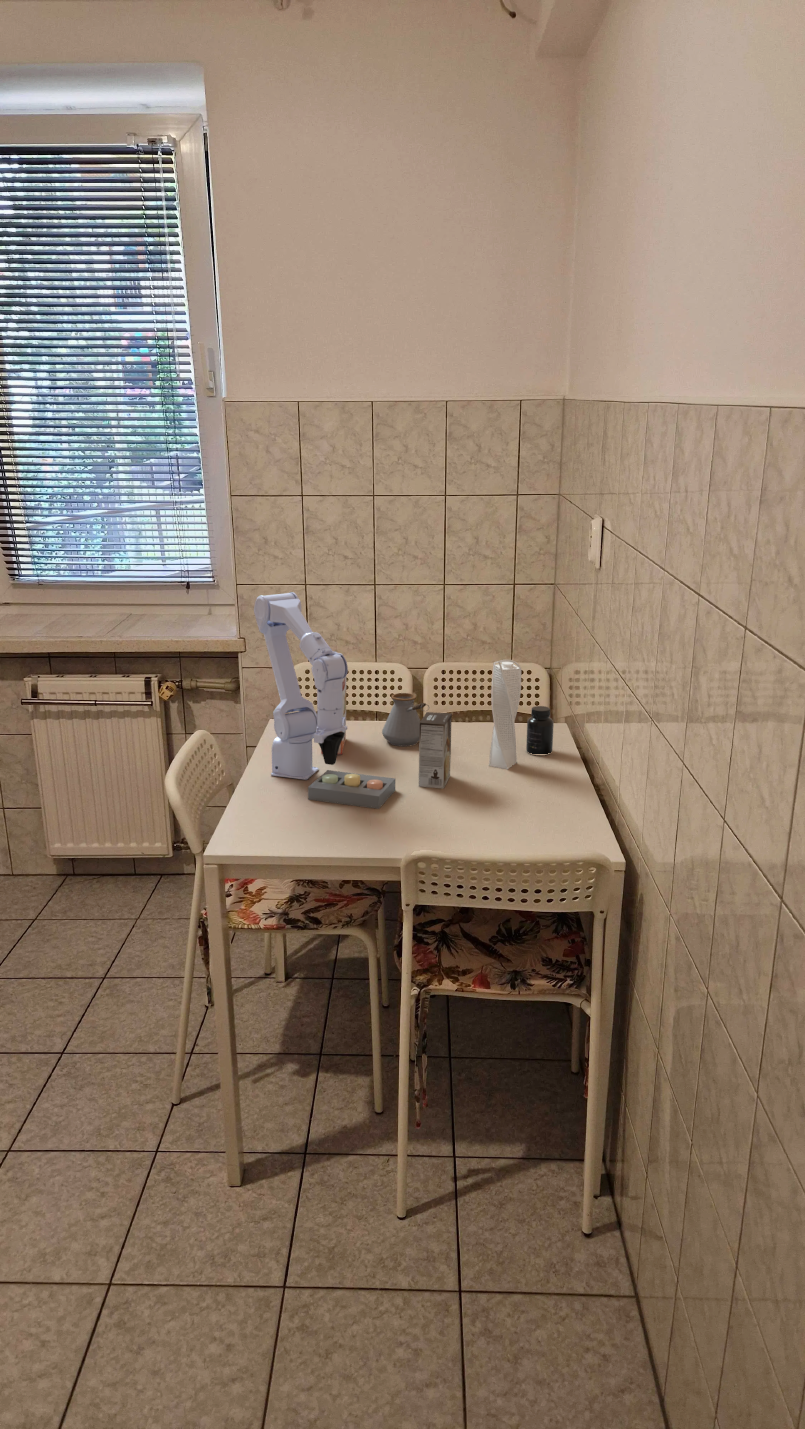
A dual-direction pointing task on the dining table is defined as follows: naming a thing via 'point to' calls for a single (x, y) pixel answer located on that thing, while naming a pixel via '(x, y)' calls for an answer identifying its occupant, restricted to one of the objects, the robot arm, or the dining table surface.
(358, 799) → the button panel
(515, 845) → the dining table surface
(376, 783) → the button terracotta
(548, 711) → the supplement bottle
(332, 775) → the button sage
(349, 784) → the button ochre
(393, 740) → the coffee pot
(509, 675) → the skyscraper
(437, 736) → the coffee box
